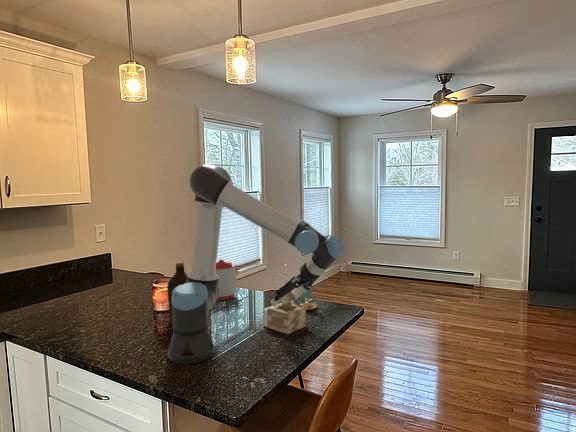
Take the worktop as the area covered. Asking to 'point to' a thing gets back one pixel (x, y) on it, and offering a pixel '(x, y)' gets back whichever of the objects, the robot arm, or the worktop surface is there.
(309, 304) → the green yellow irregular piece
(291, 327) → the block
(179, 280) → the olive oil
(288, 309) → the dowel
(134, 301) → the worktop surface
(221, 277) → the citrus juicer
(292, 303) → the backstop
